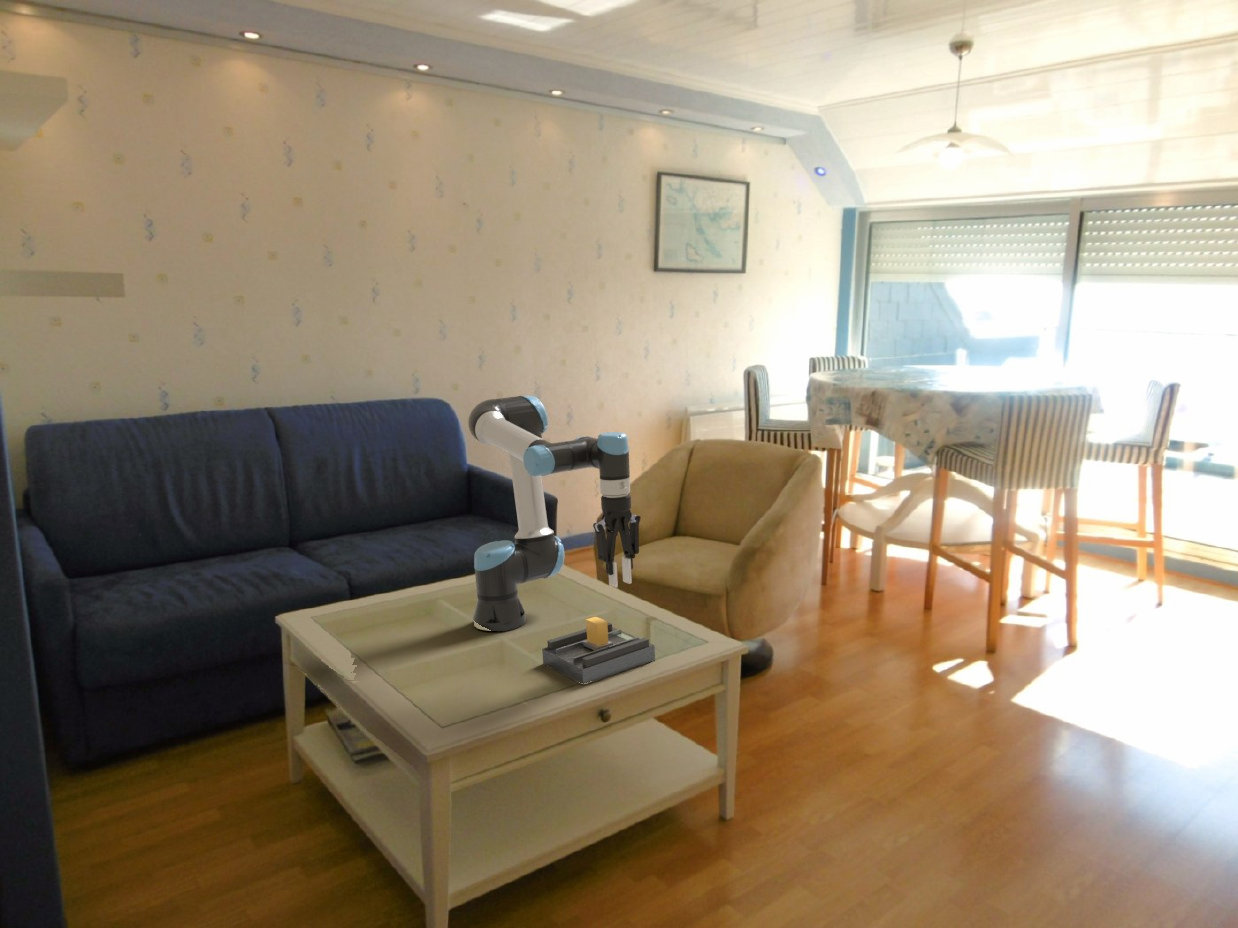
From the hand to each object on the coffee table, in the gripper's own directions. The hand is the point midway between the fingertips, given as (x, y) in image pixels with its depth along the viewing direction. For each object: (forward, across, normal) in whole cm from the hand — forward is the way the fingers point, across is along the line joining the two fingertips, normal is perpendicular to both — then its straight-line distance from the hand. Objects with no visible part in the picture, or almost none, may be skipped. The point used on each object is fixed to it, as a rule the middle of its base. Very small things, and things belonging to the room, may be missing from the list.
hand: (620, 584), depth 223 cm
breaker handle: (+14, -8, 0) cm, 16 cm away
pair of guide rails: (+15, -8, 0) cm, 17 cm away
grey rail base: (+19, -8, 0) cm, 20 cm away
